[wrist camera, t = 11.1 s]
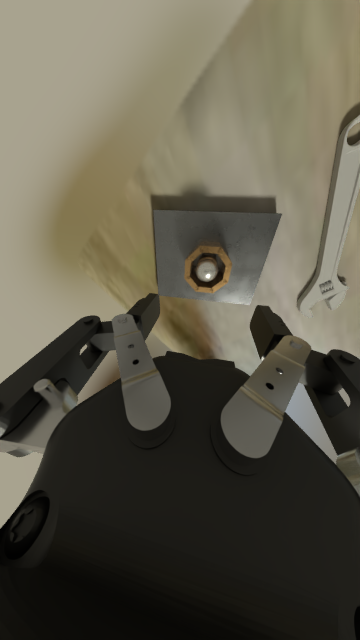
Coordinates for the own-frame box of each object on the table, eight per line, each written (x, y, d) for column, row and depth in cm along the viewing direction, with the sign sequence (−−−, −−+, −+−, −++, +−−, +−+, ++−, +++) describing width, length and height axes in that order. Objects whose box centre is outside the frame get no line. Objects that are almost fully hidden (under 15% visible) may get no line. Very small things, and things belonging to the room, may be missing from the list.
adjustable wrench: (336, 126, 16) (349, 116, 15) (415, 98, 15) (438, 85, 13) (293, 313, 29) (297, 318, 28) (332, 310, 28) (339, 315, 26)
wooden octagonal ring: (231, 242, 22) (236, 248, 18) (222, 282, 26) (225, 294, 22) (190, 240, 23) (186, 244, 19) (187, 279, 27) (183, 290, 23)
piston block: (276, 214, 21) (305, 211, 14) (247, 300, 29) (258, 323, 23) (157, 210, 23) (136, 206, 17) (161, 291, 31) (148, 309, 25)
